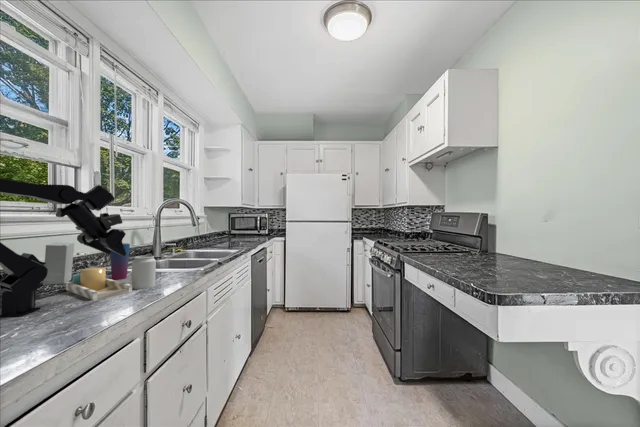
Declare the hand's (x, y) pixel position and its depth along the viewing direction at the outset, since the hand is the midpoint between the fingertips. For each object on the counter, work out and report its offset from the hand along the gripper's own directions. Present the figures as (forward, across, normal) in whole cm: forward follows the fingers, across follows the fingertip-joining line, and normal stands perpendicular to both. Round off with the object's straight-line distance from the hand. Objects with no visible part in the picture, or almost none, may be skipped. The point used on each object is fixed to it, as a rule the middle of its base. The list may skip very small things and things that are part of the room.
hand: (117, 254), depth 100 cm
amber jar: (+8, +8, +10) cm, 15 cm away
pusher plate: (+8, +13, +10) cm, 18 cm away
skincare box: (+8, +32, +12) cm, 35 cm away
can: (+16, -3, +2) cm, 16 cm away
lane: (+8, +4, +11) cm, 14 cm away
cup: (+18, +19, 0) cm, 26 cm away
